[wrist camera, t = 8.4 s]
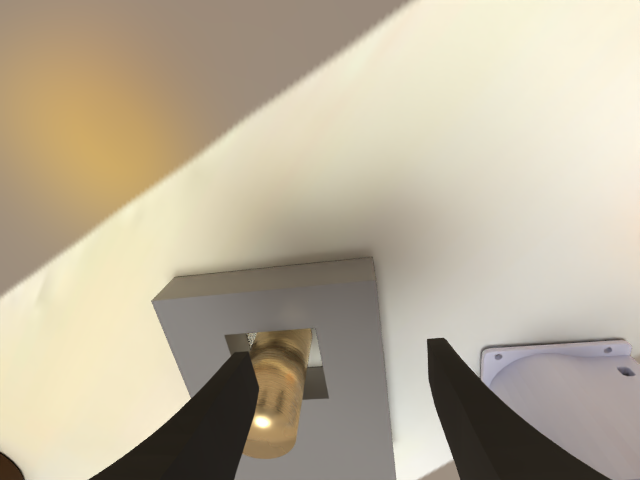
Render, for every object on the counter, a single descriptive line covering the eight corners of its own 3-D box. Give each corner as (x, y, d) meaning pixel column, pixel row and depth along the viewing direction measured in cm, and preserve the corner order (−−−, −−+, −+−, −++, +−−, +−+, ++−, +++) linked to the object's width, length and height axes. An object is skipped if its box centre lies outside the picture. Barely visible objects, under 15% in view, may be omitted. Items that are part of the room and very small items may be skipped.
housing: (372, 257, 22) (375, 279, 19) (391, 444, 28) (396, 481, 26) (174, 277, 23) (151, 301, 21) (237, 448, 30) (225, 483, 27)
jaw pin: (310, 312, 24) (293, 407, 16) (313, 355, 25) (298, 461, 18) (256, 311, 24) (215, 404, 17) (261, 354, 26) (227, 456, 18)
